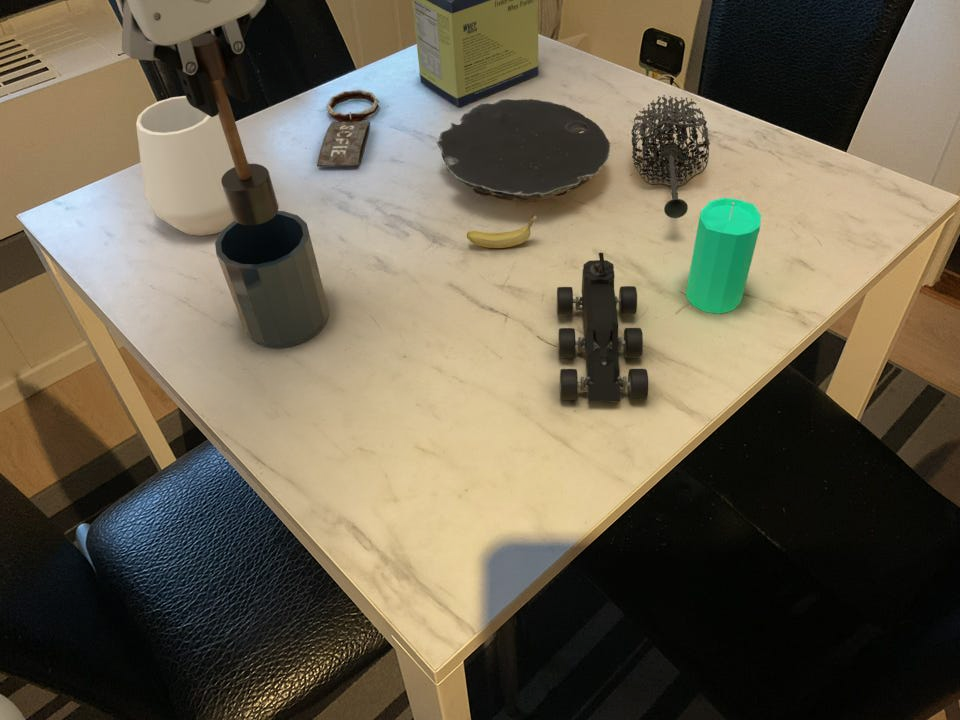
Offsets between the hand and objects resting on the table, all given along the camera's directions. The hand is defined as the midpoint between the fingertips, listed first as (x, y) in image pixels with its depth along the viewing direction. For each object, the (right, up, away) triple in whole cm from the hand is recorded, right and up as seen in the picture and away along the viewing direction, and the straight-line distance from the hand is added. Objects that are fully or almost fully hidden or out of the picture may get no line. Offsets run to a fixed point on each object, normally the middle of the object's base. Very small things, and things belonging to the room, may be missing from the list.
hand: (221, 101), depth 68 cm
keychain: (+3, +10, +45) cm, 46 cm away
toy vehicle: (+34, -22, +13) cm, 43 cm away
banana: (+25, -9, +26) cm, 37 cm away
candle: (+48, -15, +18) cm, 53 cm away
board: (+28, +2, +36) cm, 45 cm away
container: (+1, -18, +19) cm, 26 cm away
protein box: (+22, +21, +54) cm, 62 cm away
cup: (-12, -4, +33) cm, 36 cm away
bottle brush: (+1, -8, +8) cm, 12 cm away
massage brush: (+46, -1, +32) cm, 56 cm away
